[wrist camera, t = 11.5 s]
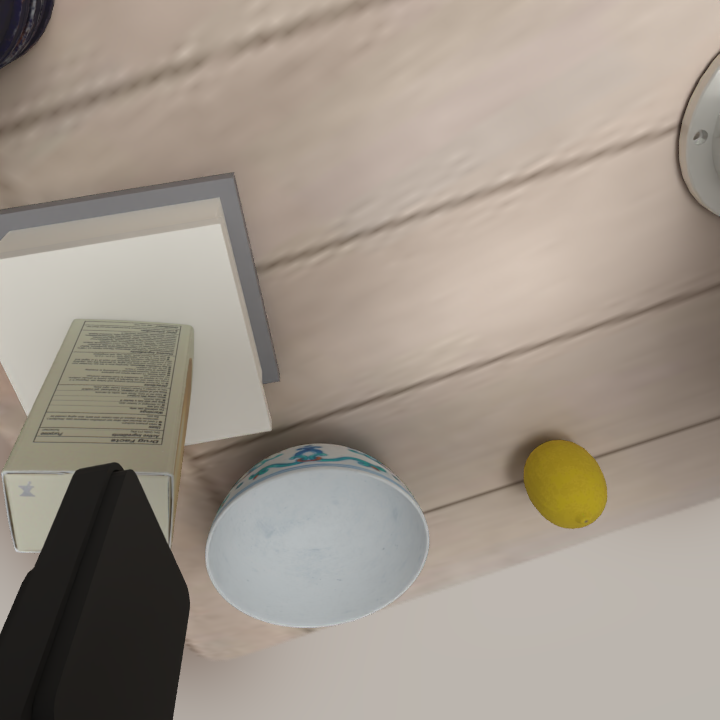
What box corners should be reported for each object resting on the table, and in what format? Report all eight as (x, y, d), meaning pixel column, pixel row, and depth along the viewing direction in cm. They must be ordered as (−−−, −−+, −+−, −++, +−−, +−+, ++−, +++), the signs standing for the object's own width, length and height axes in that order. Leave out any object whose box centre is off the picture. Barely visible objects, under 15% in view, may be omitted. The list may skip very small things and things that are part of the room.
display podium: (233, 172, 38) (227, 212, 32) (279, 373, 46) (281, 435, 40) (-10, 211, 38) (-62, 259, 32) (76, 408, 45) (47, 476, 39)
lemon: (519, 484, 54) (555, 560, 47) (502, 435, 51) (539, 508, 44) (584, 460, 54) (630, 533, 47) (571, 409, 51) (618, 479, 44)
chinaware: (175, 444, 48) (161, 522, 41) (368, 367, 46) (384, 435, 40) (266, 570, 56) (266, 652, 49) (433, 508, 54) (456, 584, 48)
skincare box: (78, 385, 36) (3, 556, 26) (72, 314, 34) (-12, 471, 24) (198, 391, 38) (172, 557, 27) (200, 323, 35) (173, 476, 25)
